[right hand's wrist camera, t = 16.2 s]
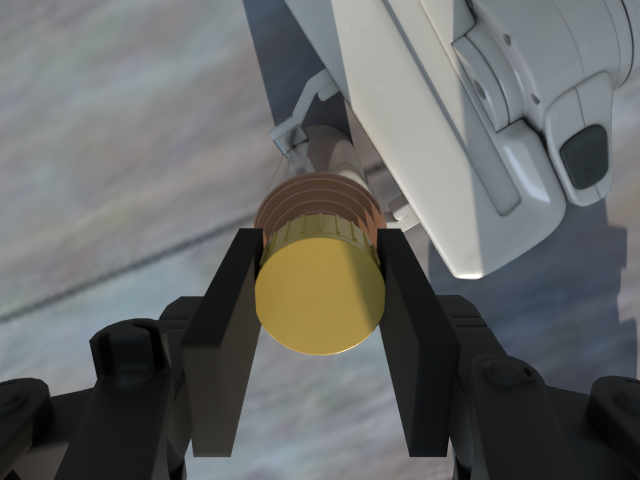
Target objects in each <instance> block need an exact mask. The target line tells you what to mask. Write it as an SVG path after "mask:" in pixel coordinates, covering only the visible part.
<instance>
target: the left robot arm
mask: <svg viewBox="0 0 640 480" xmlns="http://www.w3.org/2000/svg"><path fill="white" fill-rule="evenodd" d="M284 1H285V2H286V4H287V6H288V7H289V9H290V11H291V12H292V14H293V15H294V17H295V19H296V20H297V22H298V24H299V25H300V27H301V29H302V30H303V32H304V33H305V35H306V37H307V38H308V40H309V42H310V43H311V45H312V47H313V48H314V50H315V51H316V53H317V55H318V56H319V58H320V60H321V61H322V63H323V64H324V66H325V69H323V70H322V71H320V72H319V73H318V74H316V75H315V76H313V77H312V78H311V79H309V80H308V81H307V83H306V85H305V88H304V90H303V92H302V94H301V96H300V98H299V100H298V103H297V105H296V107H295V109H294V111H293V113H292V116H291V117H289V118H288V119H286V120H285V121H283V122H282V123H281V124H279V125H278V126H276V127H275V128H274V129H272V130H271V131H270V132H269V133H268V135H269V136H270V138H271V139H272V141H273V142H274V143H275V145H276V146H277V147H278V149H279V150H280V152H281V153H282V154H283V155H284V154H285V153H287V152H288V151H290V150H291V149H292V147H293V145H298V144H300V143H302V142H303V141H305V140H306V139H308V133H307V132H306V130H305V128H304V127H303V125H302V122H303V119H304V117H305V115H306V113H307V111H308V109H309V107H310V105H311V103H312V100H313V98H314V96H315V94H316V93H317V92H318V97H319V98H320V100H321V101H325V100H327V99H328V98H330V97H331V96H333V95H334V94H336V93H337V92H339V91H340V92H341V94H342V96H343V97H344V99H345V100H346V102H347V104H348V105H349V107H350V109H351V110H352V112H353V113H354V115H355V117H356V118H357V120H358V122H359V123H360V125H361V127H362V128H363V130H364V131H365V133H366V135H367V136H368V138H369V140H370V141H371V143H372V144H373V146H374V148H375V149H376V151H377V153H378V154H379V156H380V158H381V159H382V161H383V162H384V164H385V166H386V167H387V169H388V171H389V172H390V174H391V176H392V177H393V179H394V180H395V182H396V184H397V185H398V187H399V189H400V190H401V192H402V193H403V194H402V195H401V196H399V197H397V198H396V199H394V200H393V201H391V202H390V203H389V204H388V206H389V208H390V210H391V212H383V214H384V216H385V219H386V224H387V228H401V230H402V232H404V231H406V230H408V229H409V228H411V227H413V226H414V225H416V224H418V223H419V222H420V223H421V225H422V226H423V228H424V229H425V231H426V233H427V234H428V236H429V238H430V239H431V241H432V242H433V244H434V246H435V247H436V249H437V251H438V252H439V254H440V255H441V257H442V259H443V260H444V262H445V264H446V265H447V267H448V268H449V270H450V271H451V273H452V274H453V275H454V276H455V277H456V278H461V279H479V278H481V277H484V276H486V275H488V274H490V273H492V272H494V271H495V270H497V269H499V268H500V267H502V266H504V265H506V264H507V263H509V262H511V261H512V260H514V259H516V258H517V257H519V256H520V255H522V254H523V253H525V252H526V251H528V250H529V249H531V248H532V247H534V246H535V245H537V244H538V243H539V242H541V241H542V240H544V239H545V238H546V237H547V236H549V235H550V234H551V233H552V232H553V231H554V230H555V229H556V228H557V226H558V225H559V224H560V222H561V220H562V219H563V216H564V214H565V210H566V201H567V202H569V203H572V204H575V205H578V206H588V205H591V204H593V203H595V202H597V201H599V200H601V199H602V198H604V197H605V196H606V195H607V194H608V193H609V192H610V191H611V189H612V185H613V162H612V129H611V123H612V103H613V91H614V90H616V89H618V88H619V87H621V86H622V85H623V84H624V83H625V82H626V81H627V80H628V79H630V78H631V77H632V76H633V75H634V74H636V73H637V72H639V71H640V0H284Z"/></svg>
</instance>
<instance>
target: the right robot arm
mask: <svg viewBox="0 0 640 480" xmlns="http://www.w3.org/2000/svg"><path fill="white" fill-rule="evenodd" d="M376 250H377V254H378V257H379V260H380V263H381V266H380V268H381V271H382V274H383V278H384V281H385V305H384V313H383V316H382V318H381V320H380V322H379V327H380V332H381V336H382V340H383V344H384V349H385V353H386V357H387V362H388V366H389V370H390V374H391V379H392V383H393V387H394V391H395V396H396V400H397V404H398V409H399V413H400V417H401V421H402V426H403V430H404V434H405V438H406V443H407V447H408V451H409V456H410V457H447V449H448V442H449V436H450V439H451V442H452V445H453V447H454V450H455V453H456V458H455V465H454V473H453V480H640V380H637V379H636V380H635V379H633V378H628V377H620V376H607V377H602V378H599V379H598V380H596V381H595V382H594V383H593V386H592V389H591V393H590V395H587V394H582V393H577V392H572V391H567V390H562V389H558V388H554V387H551V386H547V385H545V383H544V381H543V379H542V377H541V376H540V375H539V373H538V372H537V370H535V369H534V368H533V367H531V366H530V365H528V364H527V363H526V362H523V361H521V360H519V359H516V358H514V357H511V356H508V355H507V354H506V352H505V351H504V349H503V348H502V346H501V345H500V343H499V342H498V340H497V339H496V337H495V336H494V334H493V333H492V331H491V330H490V328H487V324H486V322H485V321H484V319H483V318H481V315H480V313H479V312H478V310H477V309H476V307H475V306H474V305H473V304H472V303H470V302H469V301H467V300H466V299H464V298H463V297H462V296H460V295H435V293H434V291H433V289H432V287H431V285H430V283H429V281H428V280H427V278H426V276H425V274H424V272H423V270H422V268H421V266H420V264H419V262H418V260H417V259H416V257H415V255H414V253H413V251H412V249H411V247H410V245H409V243H408V241H407V239H406V237H405V236H404V234H403V232H402V230H401V228H377V246H376ZM263 251H264V240H263V228H239V230H238V232H237V234H236V236H235V238H234V240H233V242H232V244H231V246H230V248H229V250H228V251H227V253H226V255H225V257H224V259H223V261H222V263H221V265H220V267H219V269H218V271H217V273H216V274H215V276H214V278H213V280H212V282H211V284H210V286H209V288H208V290H207V292H206V294H205V295H204V296H181V297H180V298H178V299H177V300H175V301H174V302H172V303H171V304H169V305H168V306H167V307H166V308H165V310H164V311H163V313H162V314H161V316H160V317H159V320H153V319H149V318H135V319H130V320H124V321H120V322H117V323H115V324H112V325H109V326H107V327H105V328H104V329H102V330H100V331H99V332H97V333H96V334H95V335H94V336H93V337H92V338H91V339H90V341H89V342H90V347H91V352H92V356H93V361H94V365H95V370H96V375H97V381H96V384H95V386H94V387H93V388H89V389H86V390H82V391H77V392H73V393H68V394H63V395H58V396H53V397H51V396H50V392H49V388H48V385H47V384H46V383H44V382H43V381H42V380H40V379H34V378H20V379H13V380H8V381H6V382H5V381H4V382H1V383H0V480H186V478H187V473H186V465H185V458H184V456H185V453H186V451H187V448H188V445H189V442H190V439H191V440H192V447H193V455H194V457H231V453H232V448H233V444H234V440H235V435H236V431H237V427H238V423H239V418H240V414H241V410H242V406H243V401H244V397H245V393H246V388H247V384H248V380H249V376H250V371H251V367H252V363H253V358H254V354H255V350H256V346H257V341H258V337H259V333H260V329H261V322H260V320H259V318H258V316H257V313H256V299H255V281H256V277H257V274H258V271H259V268H260V265H259V263H260V260H261V257H262V254H263Z"/></svg>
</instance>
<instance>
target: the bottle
mask: <svg viewBox="0 0 640 480" xmlns="http://www.w3.org/2000/svg"><path fill="white" fill-rule="evenodd" d="M305 130H306V132H307V133H308V139H306V140H305V141H303V142H302V143H300V144H298V145H293V147H292V149H291V150H290V151H288V152H287V153H285V154H284V155H283V157H282V159H281V161H280V163H279V166H278V168H277V170H276V172H275V174H274V176H273V179H272V181H271V183H270V185H269V187H268V189H267V192H266V194H265V196H264V198H263V200H262V202H261V205H260V207H259V209H258V211H257V214H256V216H255V220H254V224H253V228H263V240H264V248H265V245H266V243H267V244H268V243H269V242H270V240H271V238H272V237H273V235H274V232H275V231H278V230H279V229H280V228H282V227H283V226H285V225H286V223H287V222H288V221H289V222H291V221H293V220H295V219H298V218H300V217H302V215H305V216H308V215H315V214H319V213H322V214H325V215H333V216H336V215H338V216H339V217H340V218H343V219H345V220H347V221H349V222H351V221H352V222H354V225H356V226H357V227H358V228H360V229H361V230H362V231H363V232H364V231H365V232H366V234H367V237H368V238H369V240H370V241H371V243H372V244H374V245H375V247H376V246H377V228H387V224H386V219H385V216H384V214H383V211H382V209H381V207H380V204H379V202H378V200H377V198H376V196H375V193H374V191H373V189H372V187H371V185H370V183H369V180H368V178H367V176H366V174H365V172H364V169H363V167H362V165H361V163H360V161H359V159H358V156H357V154H356V152H355V150H354V148H353V145H352V144H351V142H350V140H349V139H348V137H347V136H346V135H345V134H344V133H343V132H341V131H340V130H338V129H336V128H334V127H332V126H329V125H320V124H319V125H312V126H308V127H306V128H305Z"/></svg>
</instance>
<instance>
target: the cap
mask: <svg viewBox="0 0 640 480" xmlns="http://www.w3.org/2000/svg"><path fill="white" fill-rule="evenodd" d="M259 265H260V268H259V271H258V274H257V277H256V281H255V299H256V313H257V316H258V318H259V320H260V322H261V324H262V325H263V327H264V328H265V330H266V331H267V332H268V333H269V334H270V335H271V336H272V337H273V338H274V339H275V340H276V341H278V342H279V343H281V344H282V345H284V346H286V347H288V348H290V349H292V350H295V351H298V352H301V353H305V354H312V355H328V354H335V353H339V352H342V351H345V350H348V349H350V348H352V347H354V346H356V345H358V344H359V343H361V342H362V341H363V340H365V339H366V338H367V337H368V336H369V335H370V334H371V333H372V332H373V331H374V330H375V328H376V327H377V325H378V324H379V322H380V320H381V318H382V316H383V313H384V305H385V281H384V278H383V274H382V271H381V268H380V266H381V263H380V260H379V257H378V254H377V250H376V247H375V245H374V244H372V243H371V241H370V240H369V238H368V237H367V234H366V232H365V231H364V232H363V231H362V230H361V229H360V228H358V227H357V226H356V225H354V222H352V221H351V222H349V221H347V220H345V219H343V218H340V217H339V216H338V215H336V216H333V215H325V214H322V213H319V214H315V215H308V216H305V215H302V217H300V218H298V219H295V220H293V221H291V222H289V221H288V222H287V223H286V225H285V226H283V227H282V228H280V229H279V230H278V231H275V232H274V235H273V237H272V238H271V240H270V242H269V243H268V244H267V243H266V245H265V248H264V251H263V254H262V257H261V260H260V263H259Z"/></svg>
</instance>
